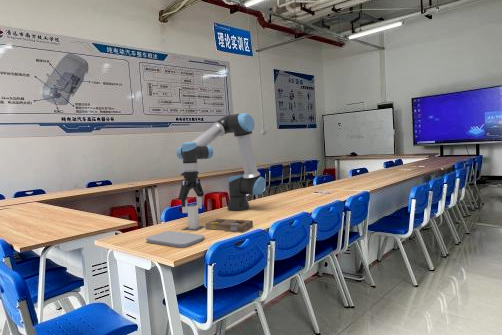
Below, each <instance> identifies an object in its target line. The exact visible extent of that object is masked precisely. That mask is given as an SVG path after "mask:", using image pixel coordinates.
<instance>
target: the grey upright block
mask: <svg viewBox="0 0 502 335" xmlns="http://www.w3.org/2000/svg"><path fill="white" fill-rule="evenodd" d="M187 212H188V213H187V222H188V223H187V225H188V227H189V229H196V228H199V226H200V220H199V219H200V218H199V208H198V205H197V203H196V204H192V203H191V204H189V205H187Z"/></svg>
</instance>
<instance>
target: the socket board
mask: <svg viewBox="0 0 502 335" xmlns="http://www.w3.org/2000/svg"><path fill="white" fill-rule="evenodd" d="M204 226H205V227H204V228H205V230H209V231H221V232H222V231H223V232H228V233H229V232H230V233H245V232H247V231H248V230H251V229H252V228H253V227H254V222H253V220H249V219H248V220H247V219H246V220H245V219H233V218H232V219H230V218H215V219H212V220H211V221H208V222H205V224H204Z"/></svg>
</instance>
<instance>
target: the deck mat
mask: <svg viewBox="0 0 502 335" xmlns="http://www.w3.org/2000/svg"><path fill="white" fill-rule="evenodd" d="M204 228H205V225H199V228H196V229H189V226H187V227H184V228H182V229H180V230H182V231H191V232H192V231H193V232H198V231H200V230H202V229H204Z"/></svg>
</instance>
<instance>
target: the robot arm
mask: <svg viewBox="0 0 502 335" xmlns="http://www.w3.org/2000/svg"><path fill="white" fill-rule="evenodd" d="M254 129H255V120H254V118H253V116H252V115H250V113H247V112H245V113H244V112H241V113H234V114H227V115H225V116H223V117H221V118H220V119H218V120H217V121H215V122H214V123H213V124H212V126H210V128H208V129H207V130H206V131H204V132H203V133H201V134H199V136H197V137H196V138H195V139H193V140H191V141H186V142H183V143H182V144H181V146H178V148H177V150H176V156H177V158H178V159H180V160H182V164H183V165H182V167H183V168H182V171H183V179H185V180H182V181H181V185H180V186H181V187H180V191H179V195H178V198H177V199H178V200H179V201H180V202H181V209H182V210H181V212H182V214H188V209H187V206H188V200H187V198H188V196H189V193H190V191H191V190H192V189H193V192H194V193H195V195H196V205H198V209H201V210H202V208H203V203H202V202H203V201H202V197H204V194H205V193H204V190H203V187H202V184H201V179H200V178H199V173H198V160H207V159H211V158H212V157H213V156H214V149H213V147H212V146H210V144H211V143H212V142H214V141H215V140H217V139H218V138H219V137H222V136H224V135H227V134H233V136H234V138H236V139H237V143H238V148H239V152H240V157H241V163H242V168H243V172H244V174H241V175H232V176H230V177H228V197H229V199H228V203H227V211H231V212H232V211H233V212H239V211H246V210H249V209H250V203H249V200H248V198H247V195H250V196H251V195H252V196H256V195H257V196H260V195H261V194H263V193H264V191H265V190H266V184H267V182H266V179H265V178H264V177H263V176H261V173H260V171H258V168H257V162H256V157H255V152H254V148H253V147H254V146H253V142H252V138H251V136H252V134H253V131H254Z"/></svg>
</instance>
